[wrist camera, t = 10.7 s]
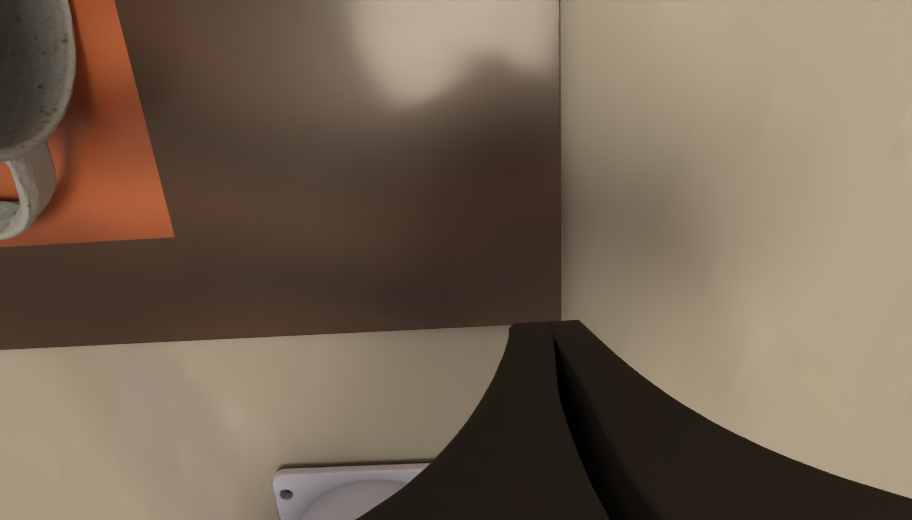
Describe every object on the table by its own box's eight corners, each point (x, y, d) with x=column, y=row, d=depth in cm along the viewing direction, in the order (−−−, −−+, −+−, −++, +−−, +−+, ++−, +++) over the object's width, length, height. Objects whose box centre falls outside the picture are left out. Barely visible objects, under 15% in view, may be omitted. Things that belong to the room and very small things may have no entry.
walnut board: (559, 318, 22) (560, 323, 22) (-107, 351, 23) (-115, 355, 23) (558, -183, 16) (559, -186, 16) (-326, -106, 17) (-339, -108, 17)
